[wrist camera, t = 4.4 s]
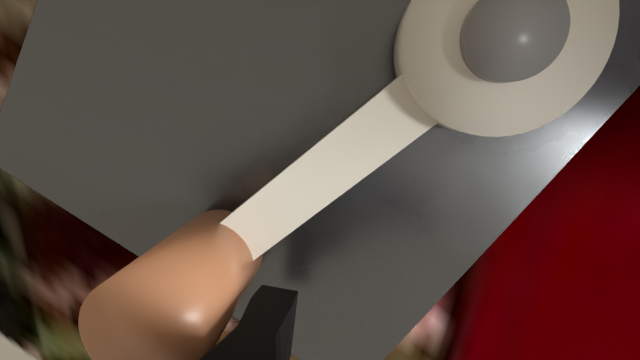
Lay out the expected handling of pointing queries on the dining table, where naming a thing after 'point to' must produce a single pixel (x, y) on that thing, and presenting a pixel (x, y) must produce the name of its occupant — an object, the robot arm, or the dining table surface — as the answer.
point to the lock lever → (357, 159)
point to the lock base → (276, 146)
